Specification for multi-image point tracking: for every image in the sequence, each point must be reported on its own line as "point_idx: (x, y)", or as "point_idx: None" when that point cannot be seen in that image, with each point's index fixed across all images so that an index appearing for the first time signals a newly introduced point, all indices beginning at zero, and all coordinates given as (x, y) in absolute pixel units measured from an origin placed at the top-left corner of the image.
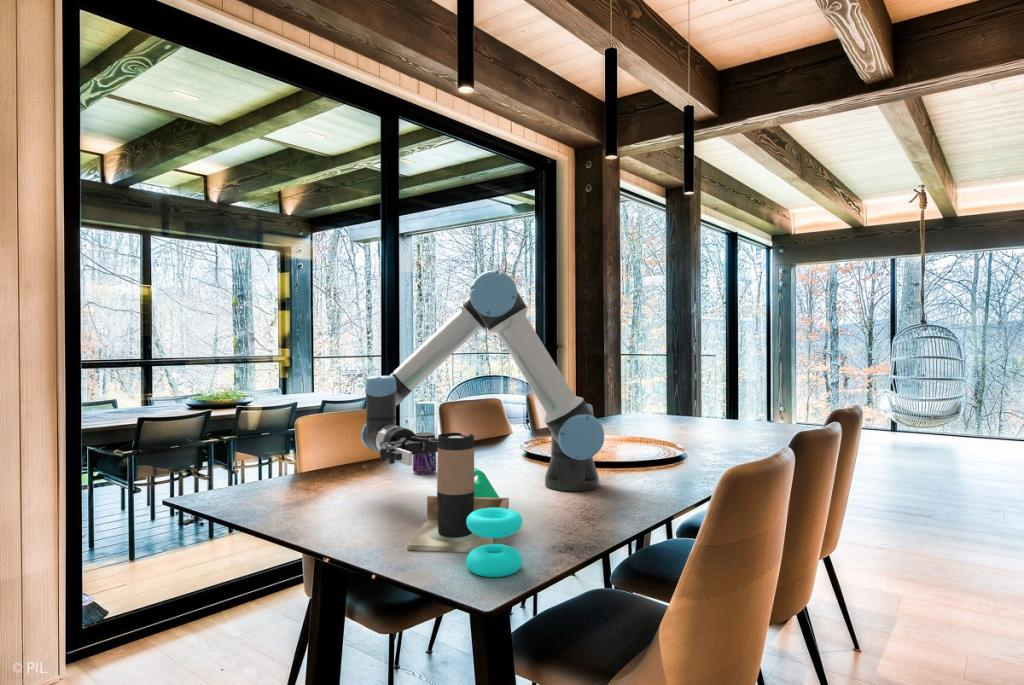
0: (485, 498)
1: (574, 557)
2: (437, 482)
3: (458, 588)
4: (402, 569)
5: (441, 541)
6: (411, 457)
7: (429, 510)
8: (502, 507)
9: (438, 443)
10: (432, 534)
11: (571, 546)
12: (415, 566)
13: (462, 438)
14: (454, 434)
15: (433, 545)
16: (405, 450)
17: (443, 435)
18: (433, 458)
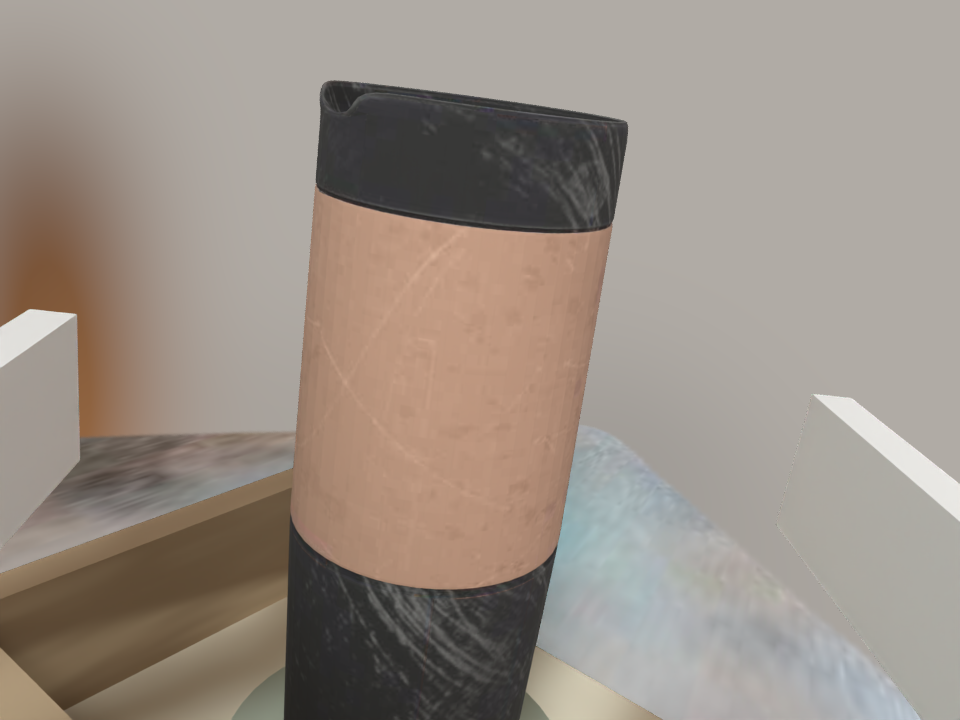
0: (22, 687)
1: (181, 448)
2: (568, 482)
3: (621, 489)
4: (767, 633)
5: (535, 702)
6: (802, 446)
7: None
8: (162, 524)
9: (619, 183)
10: None
11: (79, 484)
12: (712, 629)
13: (490, 103)
14: (413, 115)
15: (595, 684)
16: (900, 463)
17: (535, 132)
18: None
